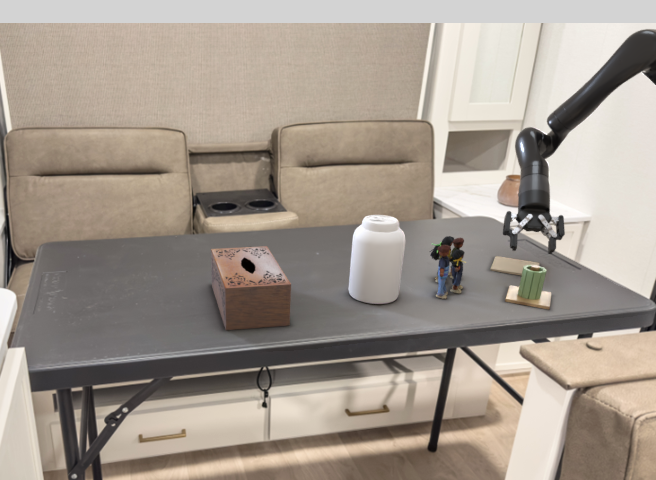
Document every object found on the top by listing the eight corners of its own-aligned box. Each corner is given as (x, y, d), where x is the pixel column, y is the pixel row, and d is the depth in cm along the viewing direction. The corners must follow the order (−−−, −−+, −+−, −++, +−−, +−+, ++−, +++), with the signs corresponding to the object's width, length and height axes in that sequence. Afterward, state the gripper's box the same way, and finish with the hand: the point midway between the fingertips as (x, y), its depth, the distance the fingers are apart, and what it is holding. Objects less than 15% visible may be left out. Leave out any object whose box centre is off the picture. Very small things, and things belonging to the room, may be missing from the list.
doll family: (470, 305, 141) (479, 253, 136) (431, 302, 143) (439, 250, 137) (457, 271, 162) (464, 225, 157) (423, 269, 164) (430, 223, 158)
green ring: (540, 293, 147) (547, 267, 144) (539, 301, 142) (546, 274, 139) (518, 289, 149) (524, 263, 146) (516, 297, 144) (522, 270, 141)
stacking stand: (551, 295, 148) (558, 263, 144) (549, 309, 140) (557, 276, 136) (509, 287, 152) (515, 256, 148) (504, 301, 144) (511, 269, 140)
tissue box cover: (289, 325, 130) (291, 284, 126) (225, 330, 128) (225, 288, 124) (266, 282, 153) (267, 246, 149) (211, 285, 151) (211, 248, 147)
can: (340, 298, 144) (346, 220, 136) (358, 282, 154) (365, 208, 146) (389, 309, 139) (398, 228, 130) (404, 291, 148) (414, 216, 140)
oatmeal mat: (539, 264, 168) (539, 262, 168) (536, 278, 158) (537, 276, 158) (495, 257, 173) (495, 255, 173) (490, 270, 163) (490, 268, 163)
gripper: (508, 186, 151) (506, 241, 145) (568, 190, 148) (568, 247, 142) (502, 201, 158) (499, 255, 152) (559, 205, 154) (558, 260, 149)
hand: (532, 251), depth 147 cm, fingers open, 8 cm apart
